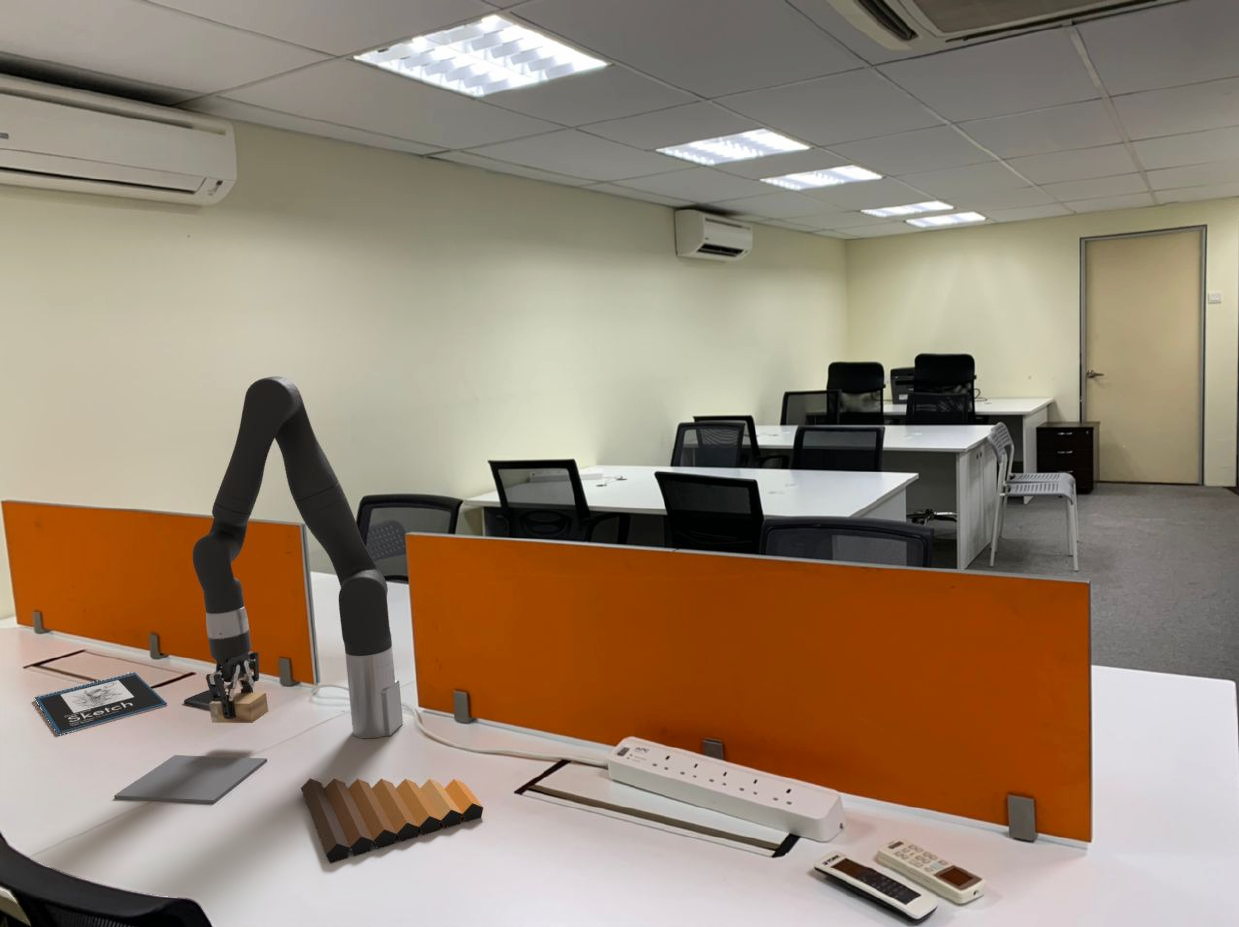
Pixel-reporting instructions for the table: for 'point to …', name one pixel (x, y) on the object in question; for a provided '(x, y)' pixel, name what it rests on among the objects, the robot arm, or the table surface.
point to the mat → (192, 779)
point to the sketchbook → (98, 702)
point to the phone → (200, 700)
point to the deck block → (241, 708)
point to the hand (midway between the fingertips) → (239, 711)
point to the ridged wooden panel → (383, 812)
